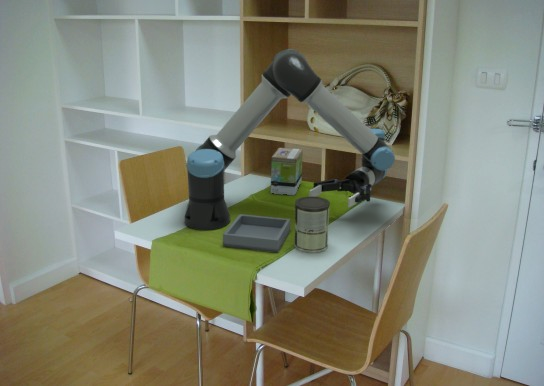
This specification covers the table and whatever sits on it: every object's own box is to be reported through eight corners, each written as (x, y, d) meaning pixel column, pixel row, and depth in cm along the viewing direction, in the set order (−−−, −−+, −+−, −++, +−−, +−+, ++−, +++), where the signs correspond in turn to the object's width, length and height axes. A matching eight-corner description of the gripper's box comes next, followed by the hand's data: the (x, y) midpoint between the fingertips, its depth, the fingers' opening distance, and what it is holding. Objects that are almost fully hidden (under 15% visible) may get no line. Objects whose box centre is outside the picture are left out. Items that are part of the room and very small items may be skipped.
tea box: (296, 196, 213) (296, 158, 209) (270, 194, 215) (270, 156, 210) (302, 183, 227) (302, 148, 222) (277, 182, 229) (277, 146, 224)
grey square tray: (223, 246, 170) (222, 234, 169) (239, 225, 186) (239, 214, 184) (277, 252, 166) (278, 240, 165) (290, 230, 182) (290, 219, 180)
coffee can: (287, 242, 173) (288, 199, 169) (316, 236, 178) (318, 194, 173) (304, 255, 165) (306, 210, 160) (334, 248, 169) (336, 204, 164)
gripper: (393, 197, 186) (365, 218, 169) (326, 184, 199) (295, 202, 183) (394, 176, 183) (366, 194, 167) (327, 164, 197) (295, 180, 180)
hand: (329, 198), depth 175 cm, fingers open, 13 cm apart
